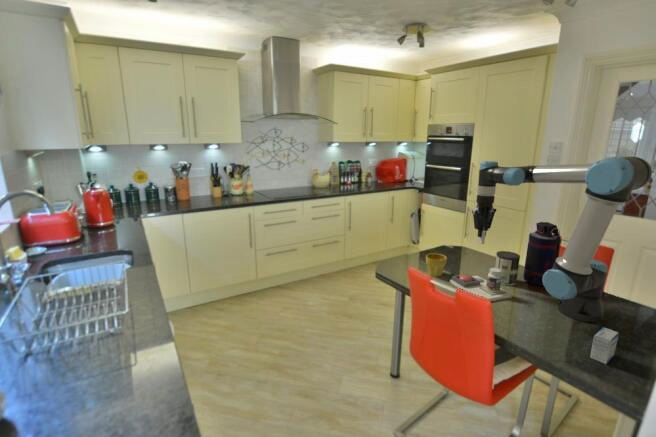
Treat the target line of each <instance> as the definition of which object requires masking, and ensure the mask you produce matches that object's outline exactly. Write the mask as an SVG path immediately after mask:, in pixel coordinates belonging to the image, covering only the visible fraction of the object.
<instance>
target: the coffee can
mask: <svg viewBox="0 0 656 437" xmlns="http://www.w3.org/2000/svg"><path fill="white" fill-rule="evenodd" d="M520 258H521V255H520V254H518V253H516V252H513V251H506V250H505V251H504V250H499V251H496V258H495V265H494V266H495V267H494V268H497V269H500V270H501V274H500V275H501V277H502V278H501V285H502V286H503V285H504V286H515V285H516V284H517V279H518V271H519V266H520Z"/></svg>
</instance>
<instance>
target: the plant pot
mask: <svg viewBox="0 0 656 437" xmlns="http://www.w3.org/2000/svg"><path fill="white" fill-rule="evenodd" d="M447 260H448V258H447V256H446V255H444V254H441V253H428V254H426V255H425V263H426V266H427V271H428V275H429V276H432V277H435V278H436V277H442V276H443V271H444V269H445V266H446V265H447V262H448V261H447Z"/></svg>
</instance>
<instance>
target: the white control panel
mask: <svg viewBox="0 0 656 437" xmlns="http://www.w3.org/2000/svg"><path fill="white" fill-rule="evenodd" d="M460 275H461V274H457V275H456V274H455V275H452V276H451V279H449V283H450V284H451V285H453V286H455V287H456V288H458V289H459V288H461V289H463V290H465V291H468V292H471V293H473V294H476V295H479V296H483V297H485V298H487V299H489V300H490V302H495V301H500V300H506V299H511V298H512V297H513V296H512V295H513V294H511V292H510V293H509V292H508V291H507V290H505V289H503V288H501V287H500V291H499V292H490V291H488V290H487V289H486V285H487V279H484V278H482V277H480V276H479V275H470V274H469V273H463V274H462V275H469V276H471V277H473V281H471V282H463V281H462V280H460V279H459V276H460ZM461 289H460V290H461ZM463 290H462V291H463Z"/></svg>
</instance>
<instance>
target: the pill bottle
mask: <svg viewBox="0 0 656 437" xmlns="http://www.w3.org/2000/svg"><path fill="white" fill-rule="evenodd" d="M500 274H501V270H500V269H497V268H495V267H491V268H489V273H488V274H487V279H486V281H487V285H486V289H487V290H488V291H490V292H499V291H500V288H501V285H502V284H501V278H502V277H501V275H500Z"/></svg>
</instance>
